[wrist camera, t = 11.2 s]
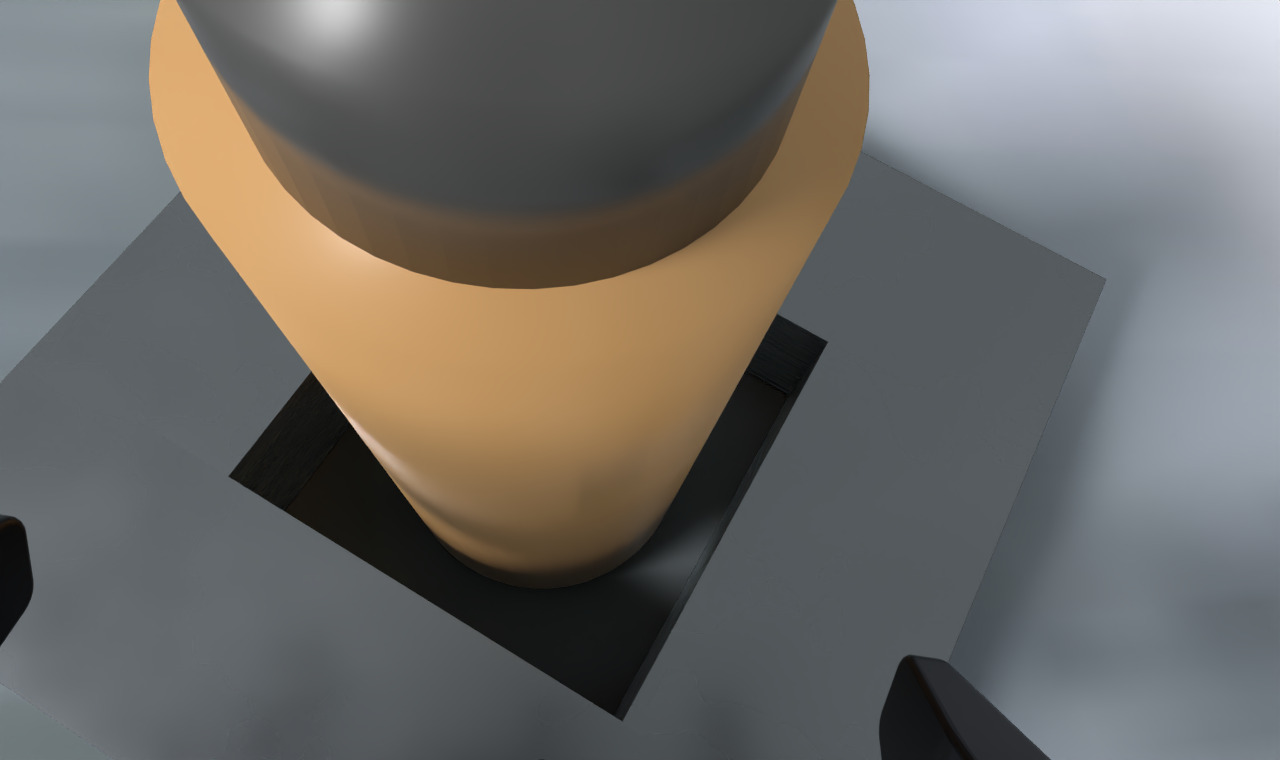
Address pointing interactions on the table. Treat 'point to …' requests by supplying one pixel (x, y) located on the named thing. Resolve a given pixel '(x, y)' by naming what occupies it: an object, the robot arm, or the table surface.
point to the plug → (518, 231)
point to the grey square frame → (443, 645)
